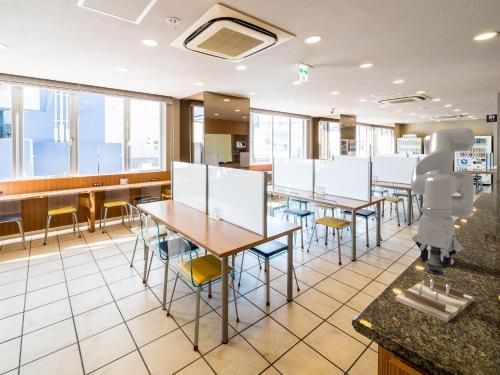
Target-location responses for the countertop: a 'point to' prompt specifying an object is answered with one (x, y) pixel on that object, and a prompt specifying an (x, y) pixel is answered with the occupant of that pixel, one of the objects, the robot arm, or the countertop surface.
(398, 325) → the countertop surface
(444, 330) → the countertop surface
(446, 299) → the pin stand
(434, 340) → the countertop surface
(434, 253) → the weathered chess pawn
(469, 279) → the countertop surface
